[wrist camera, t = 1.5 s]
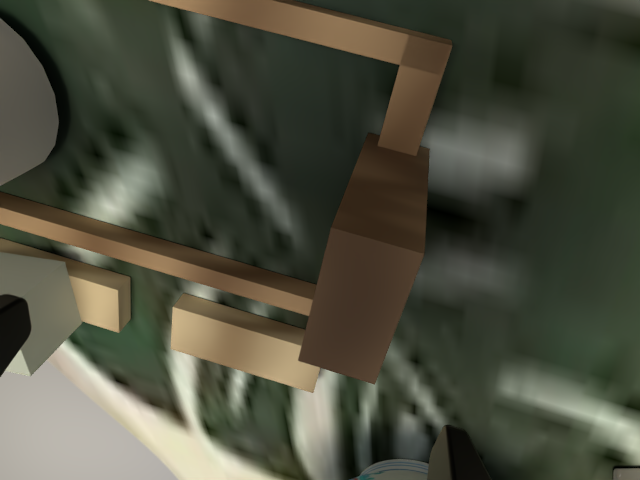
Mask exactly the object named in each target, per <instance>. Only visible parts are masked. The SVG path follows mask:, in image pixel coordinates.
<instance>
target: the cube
mask: <svg viewBox="0 0 640 480" xmlns="http://www.w3.org/2000/svg"><path fill="white" fill-rule="evenodd" d="M3 294H11V295H15V296H18V297H21V298H24V299H25V300H26V301H27V303H28V307H29V313H30V319H31V325H32V328H31V333H30V335H29V337H28V339H27V341H26V342H25V343H24V345H23V346H22V348H21V349H20V350H19V352H18V353H17V355H16V356H15V357H14V359H13V360H12V362H11V363H10V364H9V366H8V367H7V369H6V370H5V371H7V372H12V373H18V374H23V375H28V376H31V375H32V374H33V373H34V372H35V371H36V370H37V369H38V368H39V367H40V366H41V365H42V364H43V363H44V362H45V361H46V360H47V359H48V358H49V357H50V356H51V355H52V354H53V353H54V351H55V350H56V349H57V348H58V347H59V346H60V345H61V344H62V343H63V342H64V341H65V340H66V339H67V338H68V337H69V336H70V335H71V334H72V333H73V332H74V331H75V330H76V329H77V328H78V327H79V326H80V325H81V323H82V321H81V318H80V314H79V310H78V307H77V303H76V300H75V296H74V293H73V289H72V286H71V282H70V279H69V275H68V272H67V268H66V264H65V262H63V261H57V260H50V259H43V258H37V257H30V256H23V255H17V254H10V253H4V252H0V295H3Z"/></svg>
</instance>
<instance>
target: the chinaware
mask: <svg viewBox="0 0 640 480" xmlns="http://www.w3.org/2000/svg"><path fill="white" fill-rule="evenodd" d="M428 467H429V464H428V463H425V462H421V461H416V460H409V459H391V460H385V461H381V462H378V463H375V464H373V465H371V466H369V467H368V468H366V469H365V470H364V471H363V472H362V473H361V474H360V476H358V477H355V478H352V479H350V480H427V476H428Z"/></svg>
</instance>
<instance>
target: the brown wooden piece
mask: <svg viewBox="0 0 640 480" xmlns="http://www.w3.org/2000/svg"><path fill="white" fill-rule="evenodd" d="M149 1H153V2H157V3H161V4H165V5H169V6H173V7H176V8H180V9H184V10H188V11H192V12H196V13H200V14H204V15H207V16H211V17H215V18H219V19H223V20H227V21H231V22H235V23H239V24H242V25H246V26H250V27H254V28H258V29H262V30H266V31H270V32H273V33H277V34H281V35H285V36H289V37H293V38H297V39H301V40H305V41H308V42H312V43H316V44H320V45H324V46H328V47H332V48H336V49H340V50H343V51H347V52H351V53H355V54H359V55H363V56H367V57H371V58H374V59H378V60H382V61H386V62H390V63H394V64H398V65H400V66H399V70H398V74H397V77H396V81H395V84H394V88H393V91H392V95H391V99H390V102H389V106H388V109H387V113H386V117H385V120H384V124H383V127H382V131H381V134H380V135H376V134H372V133H368V135H367V137H366V140H365V142H364V145H363V147H362V150H361V152H360V155H359V158H358V160H357V163H356V165H355V168H354V170H353V173H352V175H351V178H350V181H349V183H348V186H347V188H346V191H345V193H344V196H343V198H342V201H341V203H340V206H339V209H338V211H337V214H336V216H335V219H334V221H333V224H332V226H331V230H330V234H329V238H328V242H327V246H326V250H325V254H324V258H323V262H322V266H321V270H320V274H319V278H318V282H317V285H316V284H312V283H309V282H305V281H302V280H299V279H295V278H292V277H288V276H285V275H282V274H278V273H275V272H271V271H268V270H265V269H261V268H258V267H254V266H251V265H248V264H244V263H241V262H237V261H234V260H231V259H227V258H224V257H220V256H217V255H213V254H210V253H207V252H203V251H200V250H196V249H193V248H190V247H186V246H183V245H179V244H176V243H173V242H169V241H166V240H162V239H159V238H156V237H152V236H149V235H145V234H142V233H139V232H135V231H132V230H128V229H125V228H122V227H118V226H115V225H111V224H108V223H105V222H101V221H98V220H94V219H91V218H88V217H84V216H81V215H77V214H74V213H71V212H67V211H64V210H60V209H57V208H54V207H50V206H47V205H43V204H40V203H37V202H33V201H30V200H26V199H23V198H20V197H16V196H13V195H9V194H6V193H3V192H0V224H3V225H6V226H9V227H13V228H16V229H19V230H23V231H26V232H29V233H33V234H36V235H39V236H43V237H46V238H49V239H53V240H56V241H59V242H63V243H66V244H69V245H73V246H76V247H80V248H83V249H86V250H90V251H93V252H96V253H100V254H103V255H106V256H110V257H113V258H116V259H120V260H123V261H126V262H130V263H133V264H136V265H140V266H143V267H146V268H150V269H153V270H156V271H160V272H163V273H166V274H170V275H173V276H177V277H180V278H183V279H187V280H190V281H193V282H197V283H200V284H203V285H207V286H210V287H213V288H217V289H220V290H223V291H227V292H230V293H233V294H237V295H240V296H243V297H247V298H250V299H253V300H257V301H260V302H263V303H267V304H270V305H274V306H277V307H280V308H284V309H287V310H290V311H294V312H297V313H300V314H304V315H307V316H309V318H308V322H307V326H306V330H305V334H304V338H303V342H302V346H301V350H300V354H299V358H298V361H300V362H303V363H306V364H310V365H313V366H316V367H320V368H323V369H326V370H329V371H333V372H336V373H339V374H342V375H346V376H349V377H352V378H355V379H359V380H362V381H365V382H369V383H372V384H375V382H376V380H377V377H378V374H379V372H380V369H381V367H382V364H383V361H384V359H385V356H386V353H387V351H388V348H389V346H390V343H391V340H392V338H393V335H394V333H395V330H396V327H397V325H398V322H399V319H400V317H401V314H402V312H403V309H404V306H405V304H406V301H407V299H408V296H409V293H410V291H411V288H412V286H413V283H414V280H415V278H416V275H417V272H418V270H419V267H420V265H421V262H422V259H423V257H424V254H425V234H426V213H427V193H428V172H429V151H430V149H428V148H424V147H421V146H420V143H421V140H422V137H423V134H424V131H425V128H426V125H427V121H428V118H429V115H430V112H431V109H432V106H433V103H434V100H435V97H436V94H437V91H438V88H439V85H440V82H441V79H442V76H443V73H444V70H445V67H446V64H447V61H448V58H449V55H450V52H451V48H452V40H448V39H444V38H441V37H437V36H433V35H429V34H425V33H421V32H417V31H413V30H409V29H405V28H401V27H397V26H393V25H389V24H385V23H381V22H377V21H373V20H369V19H365V18H361V17H357V16H353V15H349V14H345V13H341V12H337V11H333V10H329V9H325V8H321V7H317V6H313V5H309V4H305V3H302V2H298V1H294V0H149Z"/></svg>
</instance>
